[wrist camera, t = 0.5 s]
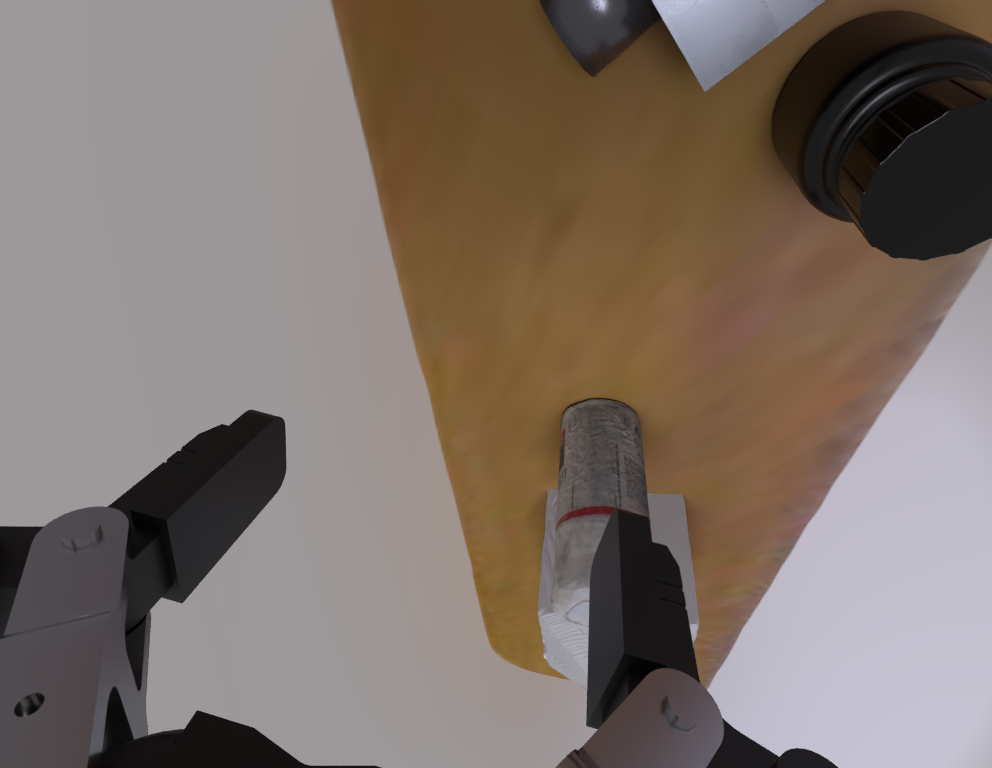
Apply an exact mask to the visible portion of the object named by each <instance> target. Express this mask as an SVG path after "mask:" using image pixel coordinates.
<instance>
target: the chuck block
mask: <svg viewBox="0 0 992 768" xmlns="http://www.w3.org/2000/svg"><path fill="white" fill-rule="evenodd" d="M539 1H540V3H541V5H542V7H543V9H544V11H545V13H546V15H547V17H548V18H549V20H550V22H551V24H552V25H553V27H554V29H555V30H556V32H557V33H558V35H559V37H560V38H561V40H562V41H563V43H564V44H565V45H566V47H567V48H568V50H569V51H570V52H571V54H572V55H573V56H574V58H575V59H576V60H577V62H578V63H579V64H580V65H581V66H582V68H583V69H584V70H585V71H586V72H587V73H588V74H589V75H591V76H592V77H595V76H596V75H597V74H598V73H600V72H601V71H602V70H603V69H604V68H605V67H606V66H607V65H609V64H610V63H611V62H612V61H613V60H614V59H615V58H616V57H618V56H619V55H620V54H621V53H622V52H623V51H624V50H625V49H627V48H628V47H629V46H630V45H631V44H632V43H633V42H634V41H635V40H637V39H638V38H639V37H640V36H641V35H642V34H643V33H644V32H646V31H647V30H648V29H649V28H650V27H651V26H652V25H653V24H655V23H656V22H657V21H658V20H659V19H660V18H661V17H662V19H663V21H664V22H665V24H666V26H667V27H668V29H669V31H670V33H671V34H672V36H673V38H674V40H675V41H676V43H677V45H678V46H679V48H680V50H681V52H682V53H683V55H684V57H685V59H686V60H687V62H688V64H689V66H690V67H691V69H692V71H693V72H694V74H695V76H696V78H697V79H698V81H699V83H700V85H701V86H702V88H703V90H704V91H705V92H706V91H707V90H708V89H710V88H711V87H712V86H714V85H715V84H716V83H718V82H719V81H720V80H722V79H723V78H724V77H726V76H727V75H728V74H729V73H731V72H732V71H733V70H735V69H736V68H737V67H739V66H740V65H741V64H743V63H744V62H745V61H747V60H748V59H749V58H750V57H752V56H753V55H754V54H756V53H757V52H758V51H760V50H761V49H762V48H764V47H765V46H766V45H768V44H769V43H770V42H771V41H773V40H774V39H775V38H777V37H778V36H779V35H781V34H782V33H783V32H785V31H786V30H787V29H789V28H790V27H791V26H792V25H794V24H795V23H796V22H798V21H799V20H800V19H802V18H803V17H804V16H806V15H807V14H808V13H810V12H811V11H812V10H813V9H815V8H816V7H817V6H819V5H820V4H821V3H823V2H824V1H825V0H539Z"/></svg>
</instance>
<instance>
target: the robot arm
mask: <svg viewBox="0 0 992 768" xmlns="http://www.w3.org/2000/svg"><path fill="white" fill-rule="evenodd" d="M285 473H286V436H285V422H284V420H283V418H281V417H278V416H273V415H270V414H266V413H262V412H259V411H255V410H248V411H246V412H245V413H244V414H242V415H241V416H240V417H239V418H238V419H237V420H235V421H234V422H233V423H232V424H231V425H229V426H227V425H223V424H222V425H219V426H217V427H214V428H212V429H210V430H208V431H205V432H203V433H200V434H198V435H197V436H196V437H195V438H194V439H192V440H191V441H190V442H188V443H187V444H186V445H185V446H183V447H182V449H181V451H177V452H176V453H175V454H173V455H172V456H171V457H170V458H168V459H167V462H166V463H164V462H163V463H162V464H161V465H160V466H158V467H157V468H156V469H155V470H154V471H152V472H151V473H150V474H148V475H147V476H146V477H145V478H143V479H142V480H141V481H139V482H138V483H137V484H136V485H134V486H133V487H132V488H131V489H130V490H129V491H127V492H126V493H125V494H123V495H122V496H121V497H120V498H118V499H117V500H116V501H114V502H113V503H112V504H111V505H109V506H108V507H88V508H83V509H79V510H75V511H72V512H69V513H66V514H64V515H62V516H60V517H58V518H56V519H54V520H53V521H51V522H49V523H48V524H47V525H46V526H44V527H7V526H6V527H3V526H1V527H0V768H380V767H377V766H309V765H305V764H303V763H301V762H299V761H298V760H297V759H295V758H294V757H293V756H291V755H290V754H289V753H287V752H286V751H284V750H283V749H282V748H280V747H279V746H278V745H276V744H275V743H274V742H272V741H271V740H269V739H268V738H267V737H266V736H264V735H263V734H261V733H260V732H259V731H257V730H256V729H255V728H252V727H249V726H246V725H243V724H240V723H236V722H233V721H229V720H227V719H224V718H220V717H217V716H214V715H210V714H208V713H204V712H201V711H196V713H195V714H194V716H193V717H192V719H191V720H190V722H189V723H188V725H187V726H186V728H185V729H178V730H171V731H163V732H159V733H155V734H151V735H148V725H147V716H146V691H147V675H148V659H149V658H148V657H149V643H150V628H151V613H150V609H151V608H152V607H153V606H154V605H155V604H156V603H157V602H158V601H159V599H160V598H161V597H163V598H166V599H169V600H173V601H176V602H180V603H183V602H184V601H185V600H186V598H187V597H188V596H189V595H190V594H191V593H192V591H193V590H194V589H195V588H196V587H197V586H198V584H199V583H200V582H201V581H202V580H203V579H204V577H205V576H206V575H207V574H208V573H209V571H210V570H211V569H212V568H213V567H214V566H215V564H216V563H217V562H218V561H219V560H220V559H221V557H222V556H223V555H224V554H225V553H226V552H227V550H228V549H229V548H230V547H231V546H232V545H233V543H234V542H235V541H236V540H237V539H238V538H239V536H240V535H241V534H242V533H243V531H244V530H245V529H246V528H247V527H248V526H249V525H250V523H251V522H252V521H253V520H254V519H255V518H256V516H257V515H258V514H259V513H260V512H261V510H262V509H263V508H264V507H265V506H266V505H267V503H268V502H269V501H270V500H271V499H272V498H273V496H274V495H275V494H276V493H277V492H278V490H279V488H280V487H281V485H282V482H283V480H284V477H285ZM682 590H683V584H682V578H681V573H680V567H679V565H678V563H677V562H676V560H675V558H674V557H673V555H672V553H671V552H670V550H669V548H668V547H667V546H666V545H662V544H659V543H655V542H652V539H651V530H650V522H649V518H648V517H647V516H644V515H640V514H636V513H632V512H629V511H625V510H621V509H617V508H615V509H614V510H613V511H612V513H611V516H610V518H609V521H608V523H607V526H606V528H605V530H604V533H603V535H602V538H601V540H600V543H599V545H598V548H597V550H596V553H595V556H594V559H593V563H592V568H591V574H590V592H589V635H588V678H587V722H586V725H587V726H588V727H592V728H595V729H598V730H597V731H596V733H595V734H594V735H593V736H592V737H591V738H590V739H589V740H588V741H587V743H585V745H584V746H583V747H582V748H580V749H579V750H578V751H577V750H573V751H572V752H571V753H570V754H569V755H567V756H566V757H565V758H564V759H563V760H562V761H561V763H560V764H559V765H558V766H557V767H556V768H838V767H837V766H836V765H834V764H833V763H832V762H830V761H829V760H828V759H826V758H824V757H823V756H821V755H819V754H817V753H815V752H813V751H810V750H806V749H799V748H795V749H790V750H788V751H786V752H784V753H783V754H782V755H781V756H780V757H778V756H777V755H775V754H774V753H772V752H771V751H769V750H767V749H765V748H764V747H762V746H761V745H759V744H758V743H756V742H754V741H753V740H751V739H749V738H748V737H746V736H745V735H743V734H742V733H740V732H739V731H737V730H736V729H734V728H733V727H732V726H731V725H730V724H728V723H727V722H726V721H725V720H724V719H723V718H722V716H721V713H720V710H719V708H718V706H717V704H716V702H715V701H714V699H713V698H712V696H711V695H710V694H709V693H708V691H707V690H706V689H705V688H704V687H703V686H702V685H701V684H700V680H699V676H698V670H697V665H696V659H695V653H694V647H693V642H692V636H691V630H690V624H689V619H688V613H687V609H685V608H686V601H685V596H684V592H683V591H682Z"/></svg>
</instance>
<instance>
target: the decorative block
mask: <svg viewBox="0 0 992 768" xmlns="http://www.w3.org/2000/svg"><path fill="white" fill-rule="evenodd" d="M547 494H548V497H547V506H546V522H545V535H544V541H543V548H542V563H541V576H540V587H539V600H538V615H539V622H540V625H541V631H542V636H543V639H544V641H545V646H546V658H547V661H548V663H549V665H550V667H552V668H553V669H555V670H557V671H558V672H560V673H561V674H563V675H565V676H566V677H567V678H568V679H570V680H572V681H573V682H575V683H576V684H578V685H580V686H581V687H582V688H584V689H586V690H587V678H588V635H586V634H583V633H582V632H581V631H580V630H579V629H577V628H575V627H573V626H571V625H568V624H564V623H563V622H562V621H561V619H560V618H559V617H558V616H557V615H556V614H555V613H554V611H553V609H552V607H551V602H550V601H551V593H552V586H553V576H554V562H555V544H556V517H557V499H558V489H547ZM647 497H648V508H649V514H650V520H651V533H652V540H653V542H655V543H659V544H662V545H666V546H667V547H668V548H669V550H670V552H671V553H672V555H673V557H674V558H675V560H676V562H677V563H678V565H679V567H680V573H681V578H682V584H683V590H682V591H683V592H684V596H685V601H686V608H685V609H687V613H688V619H689V624H690V630H691V636H692V642H693V647H694V640H695V639H696V637H697V630H698V625H699V617H698V608H697V599H696V590H695V582H694V574H693V565H692V557H691V550H690V542H689V535H688V527H687V518H686V510H685V502H684V496H683V495H679V494H653V493H647Z"/></svg>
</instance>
